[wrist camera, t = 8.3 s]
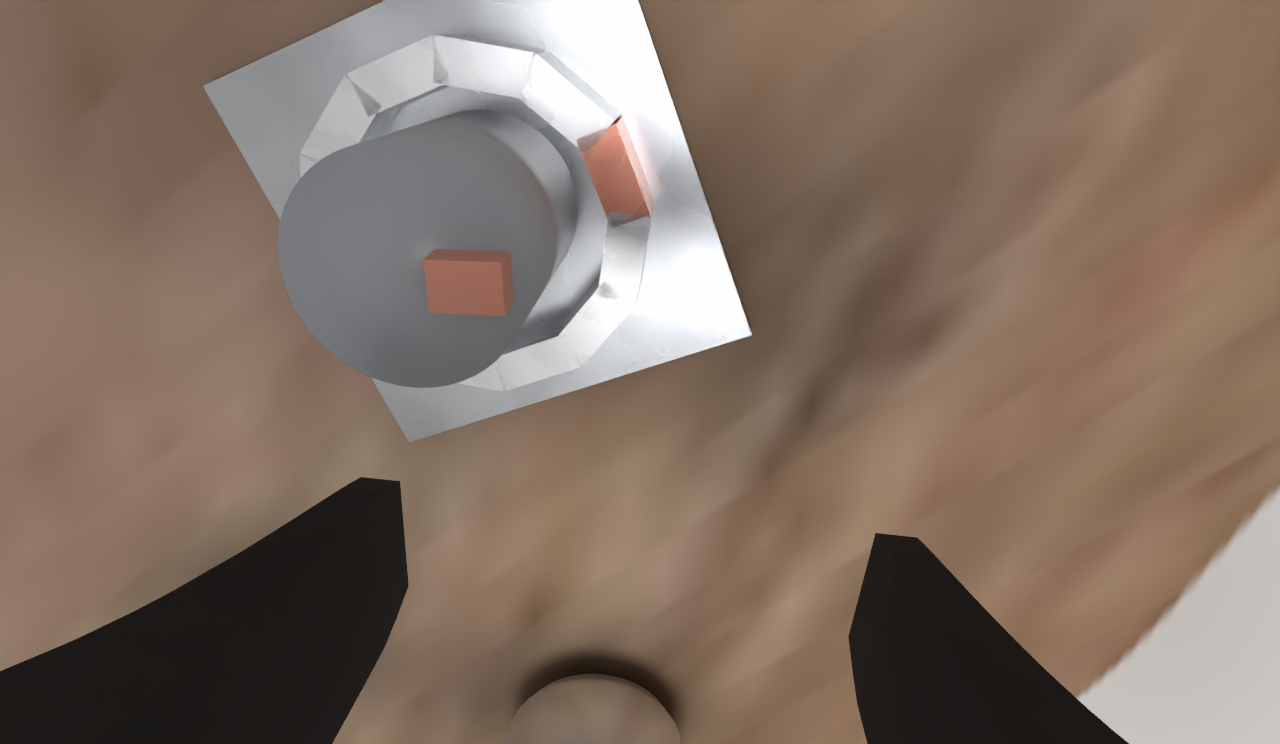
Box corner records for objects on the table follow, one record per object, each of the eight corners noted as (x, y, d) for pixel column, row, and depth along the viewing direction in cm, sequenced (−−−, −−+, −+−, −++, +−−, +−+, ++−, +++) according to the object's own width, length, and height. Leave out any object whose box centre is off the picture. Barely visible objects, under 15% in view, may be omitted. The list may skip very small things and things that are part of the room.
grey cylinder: (409, 289, 20) (284, 397, 14) (386, 107, 18) (230, 143, 12) (579, 296, 20) (526, 409, 14) (576, 111, 18) (511, 150, 12)
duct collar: (212, 84, 19) (160, 90, 17) (604, -100, 16) (593, -116, 15) (413, 435, 23) (388, 471, 21) (750, 329, 21) (755, 358, 19)
